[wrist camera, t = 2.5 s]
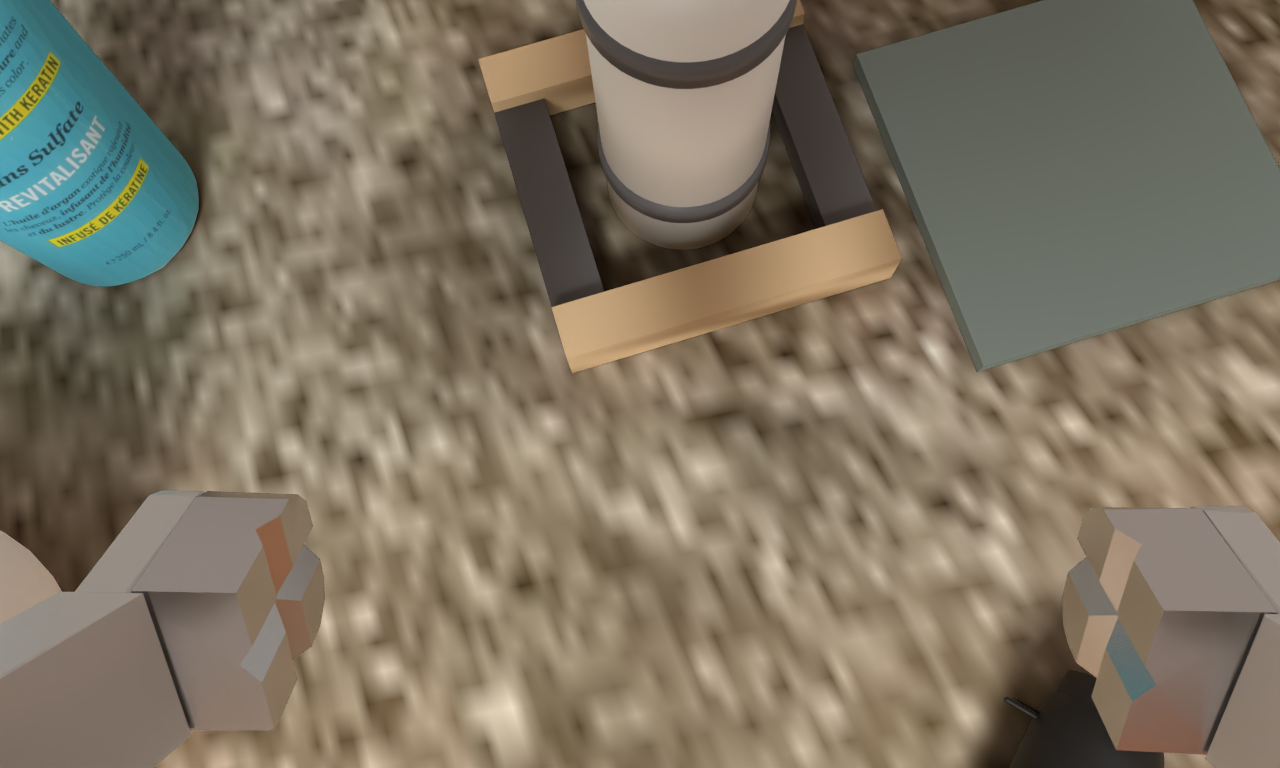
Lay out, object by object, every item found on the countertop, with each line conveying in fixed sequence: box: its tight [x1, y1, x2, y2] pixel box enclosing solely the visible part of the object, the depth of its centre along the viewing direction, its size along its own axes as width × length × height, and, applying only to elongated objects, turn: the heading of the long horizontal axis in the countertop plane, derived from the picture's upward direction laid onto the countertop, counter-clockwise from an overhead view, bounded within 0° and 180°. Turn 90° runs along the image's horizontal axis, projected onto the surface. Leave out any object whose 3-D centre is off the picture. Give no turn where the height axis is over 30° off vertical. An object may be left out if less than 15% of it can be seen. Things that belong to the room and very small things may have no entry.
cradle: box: [478, 0, 902, 373], centre depth 29 cm, size 9×9×2 cm
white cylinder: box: [576, 0, 797, 250], centre depth 24 cm, size 5×5×11 cm
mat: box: [853, 0, 1280, 372], centre depth 29 cm, size 10×10×1 cm
